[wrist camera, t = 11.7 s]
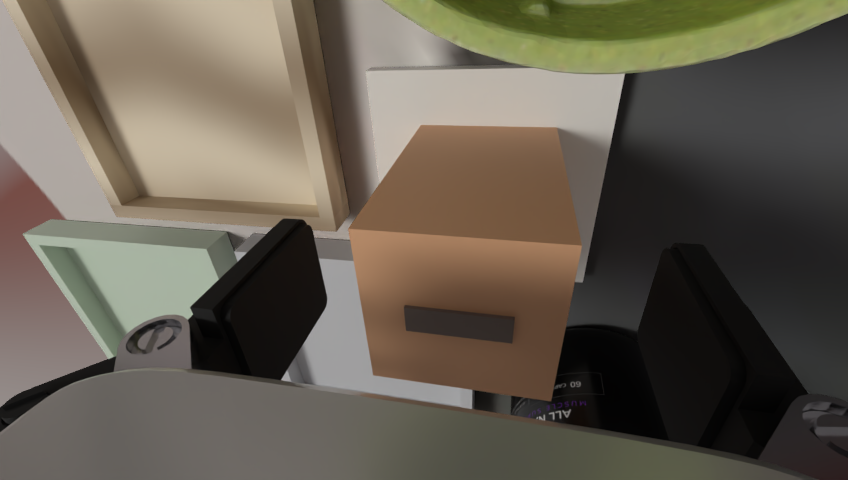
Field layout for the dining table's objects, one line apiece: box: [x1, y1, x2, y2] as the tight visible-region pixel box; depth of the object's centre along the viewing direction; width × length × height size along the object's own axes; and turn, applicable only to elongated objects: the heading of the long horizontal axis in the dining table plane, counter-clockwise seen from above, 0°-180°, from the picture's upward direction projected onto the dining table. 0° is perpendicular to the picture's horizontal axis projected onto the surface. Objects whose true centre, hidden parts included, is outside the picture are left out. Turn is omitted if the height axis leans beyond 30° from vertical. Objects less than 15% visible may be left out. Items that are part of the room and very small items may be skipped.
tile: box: [366, 65, 625, 283], centre depth 15 cm, size 8×8×1 cm
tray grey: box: [234, 234, 475, 409], centre depth 20 cm, size 11×11×2 cm
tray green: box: [23, 219, 238, 359], centre depth 23 cm, size 11×11×2 cm
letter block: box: [348, 125, 582, 401], centre depth 12 cm, size 4×5×7 cm
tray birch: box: [2, 0, 350, 232], centre depth 15 cm, size 11×11×2 cm
